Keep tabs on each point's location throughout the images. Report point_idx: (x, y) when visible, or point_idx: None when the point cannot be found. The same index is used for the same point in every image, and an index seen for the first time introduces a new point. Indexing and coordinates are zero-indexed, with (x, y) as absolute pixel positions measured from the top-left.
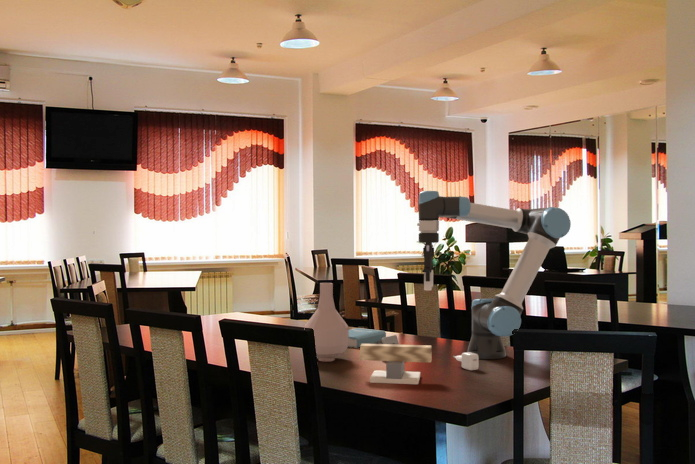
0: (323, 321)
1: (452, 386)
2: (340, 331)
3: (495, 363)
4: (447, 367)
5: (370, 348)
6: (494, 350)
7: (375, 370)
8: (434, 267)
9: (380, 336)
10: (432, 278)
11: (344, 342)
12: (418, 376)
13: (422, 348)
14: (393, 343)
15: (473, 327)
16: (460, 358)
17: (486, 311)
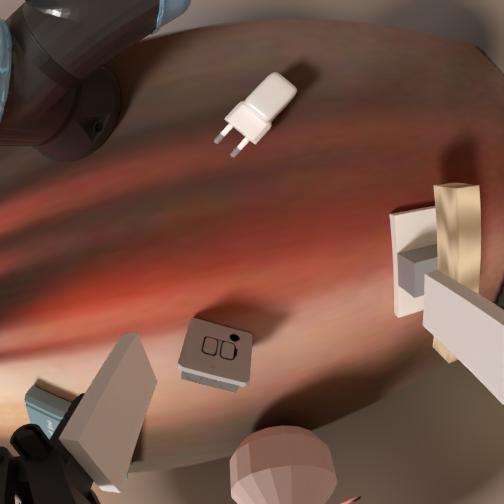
0: (327, 495)
1: (446, 132)
2: (313, 460)
3: (166, 60)
4: (267, 167)
5: None
6: (103, 70)
7: (400, 315)
8: (15, 445)
9: (45, 399)
10: (114, 383)
11: (297, 438)
12: (433, 209)
13: (478, 207)
14: (209, 354)
15: (49, 128)
16: (269, 126)
17: (103, 22)
